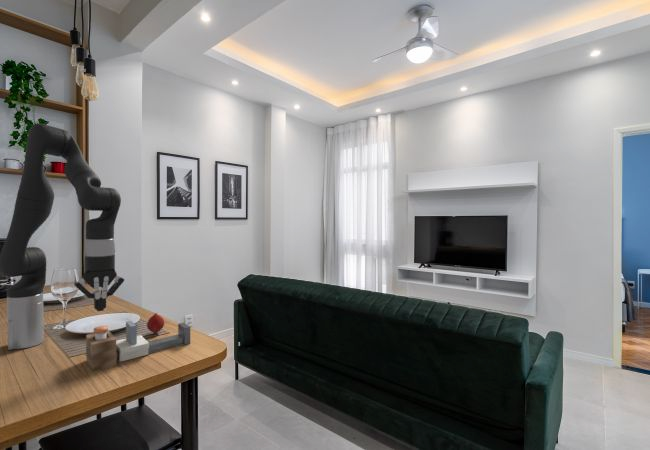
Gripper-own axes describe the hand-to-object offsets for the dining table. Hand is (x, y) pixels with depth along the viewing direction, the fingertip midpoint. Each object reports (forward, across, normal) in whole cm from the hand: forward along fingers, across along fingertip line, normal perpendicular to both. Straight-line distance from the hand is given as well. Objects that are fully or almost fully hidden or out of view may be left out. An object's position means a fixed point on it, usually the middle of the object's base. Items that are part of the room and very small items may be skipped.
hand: (99, 310), depth 101 cm
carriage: (+16, -8, 0) cm, 18 cm away
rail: (+16, -14, 0) cm, 21 cm away
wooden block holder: (+16, 0, 0) cm, 16 cm away
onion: (+16, -20, -15) cm, 30 cm away
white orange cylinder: (+13, 0, 0) cm, 13 cm away
